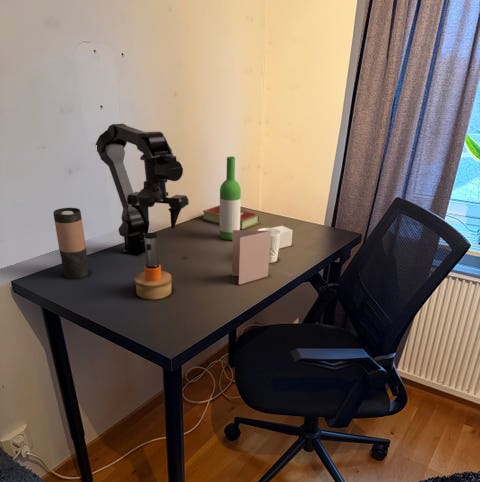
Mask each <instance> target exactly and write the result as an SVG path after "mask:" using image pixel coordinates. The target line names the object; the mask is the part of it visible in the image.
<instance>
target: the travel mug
mask: <svg viewBox="0 0 480 482" xmlns="http://www.w3.org/2000/svg"><path fill="white" fill-rule="evenodd" d="M52 214H53V220H54V227H55V232H56V238H57V244H58V250H59V254H60V255H59V256H60V260H61V264H62V269H63V274H64V277H66V278H67V279H72V280H76V279H82V278H85V277H87V276H88V275H89V274H90V273H89V271H90V270H89V263H88V261H89V260H88V251H87V245H86V237H85V231H84V226H83V219H82V211H81V209H80V208H76V207H61V208H58V209H54V210H53V212H52Z"/></svg>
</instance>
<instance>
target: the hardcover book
mask: <svg viewBox="0 0 480 482" xmlns="http://www.w3.org/2000/svg"><path fill="white" fill-rule="evenodd" d="M202 212H203V218H202V221H206V222H209V223H212V224H213V223H214V224H218V225H220V204H219V205H216V206H213V207H210V208H206V209H203V210H202ZM259 223H260V214H258V213H255V212H251V211H247V210H242V209H240V230H247V229H249V228H251V227H254V226H256V225H258V224H259Z"/></svg>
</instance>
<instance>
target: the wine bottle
mask: <svg viewBox="0 0 480 482" xmlns="http://www.w3.org/2000/svg"><path fill="white" fill-rule="evenodd" d="M241 197H242V189H241V186H240V184H239V182H238V181H237V180H236V157H235V156H232V155H231V156H227V157H226V178H225V180H224V181H223V182H222V183H221V185H220V188H219V205H220V224H219V237H220V238H221V239H222V240H225V241H233V230H240V210H241V203H242V202H241V201H242V200H241V199H242V198H241Z"/></svg>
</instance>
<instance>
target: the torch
mask: <svg viewBox="0 0 480 482" xmlns="http://www.w3.org/2000/svg"><path fill="white" fill-rule="evenodd" d="M144 239H145V251H144V252H145V264H144V265H143V269H144V271H143V272H145V279H147V280H150V281H155V280H159V279H160V278H161V271H162V265H161V264H160V263H159V257H158V241H157V233H155V232H148V233H146V234H144Z"/></svg>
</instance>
